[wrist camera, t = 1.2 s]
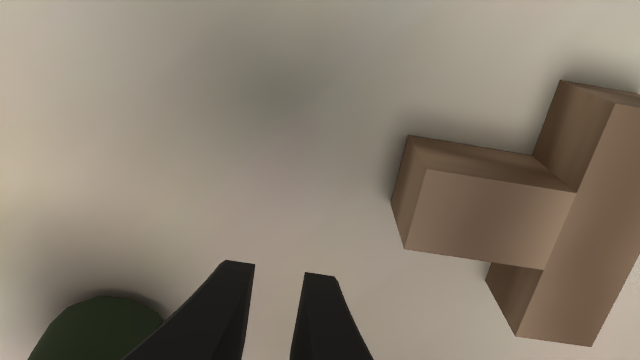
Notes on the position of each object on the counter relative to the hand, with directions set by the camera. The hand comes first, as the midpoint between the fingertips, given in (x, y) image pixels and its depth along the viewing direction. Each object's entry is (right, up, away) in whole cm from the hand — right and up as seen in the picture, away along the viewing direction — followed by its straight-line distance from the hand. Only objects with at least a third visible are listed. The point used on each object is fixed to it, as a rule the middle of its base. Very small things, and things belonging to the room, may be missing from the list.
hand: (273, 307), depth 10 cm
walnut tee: (+8, +2, +9) cm, 12 cm away
